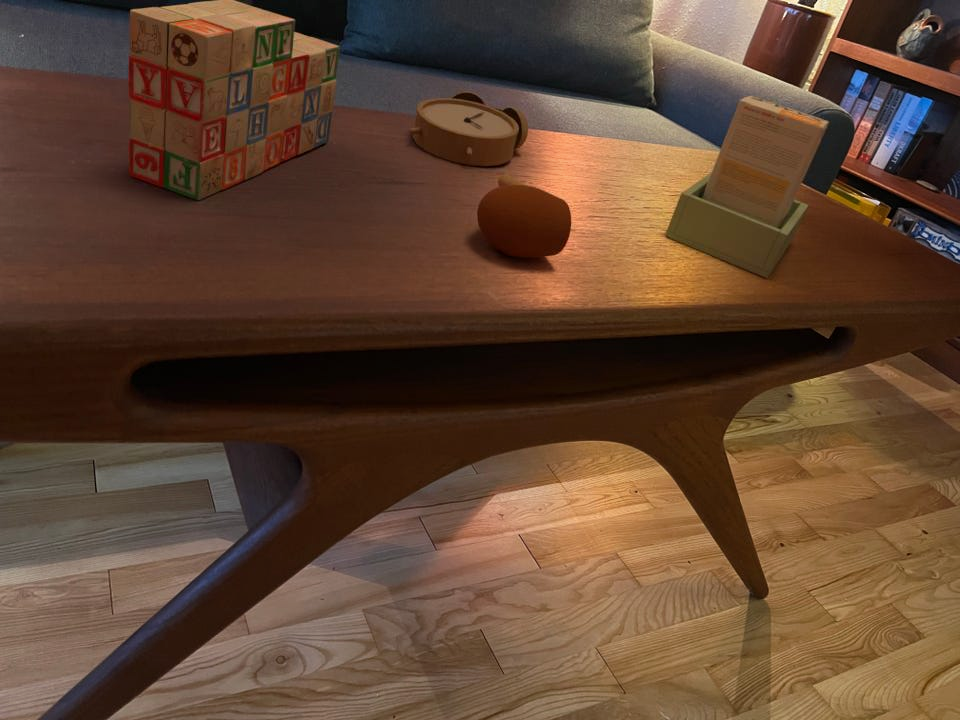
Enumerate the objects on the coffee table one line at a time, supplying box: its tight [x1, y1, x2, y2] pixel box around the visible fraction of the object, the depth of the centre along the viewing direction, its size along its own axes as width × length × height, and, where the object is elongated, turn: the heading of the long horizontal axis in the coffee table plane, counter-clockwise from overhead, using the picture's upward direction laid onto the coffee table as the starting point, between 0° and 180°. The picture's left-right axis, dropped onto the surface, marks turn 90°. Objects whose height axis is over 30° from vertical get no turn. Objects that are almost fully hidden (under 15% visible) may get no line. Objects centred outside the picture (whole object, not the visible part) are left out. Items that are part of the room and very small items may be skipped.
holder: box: [664, 171, 809, 279], centre depth 80 cm, size 11×14×5 cm
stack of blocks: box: [127, 0, 341, 201], centre depth 65 cm, size 21×6×12 cm, turn 162°
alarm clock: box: [408, 91, 529, 167], centre depth 86 cm, size 11×5×15 cm
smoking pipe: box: [476, 173, 572, 259], centre depth 69 cm, size 7×18×6 cm, turn 7°
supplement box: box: [702, 95, 830, 229], centre depth 78 cm, size 8×5×13 cm, turn 59°
